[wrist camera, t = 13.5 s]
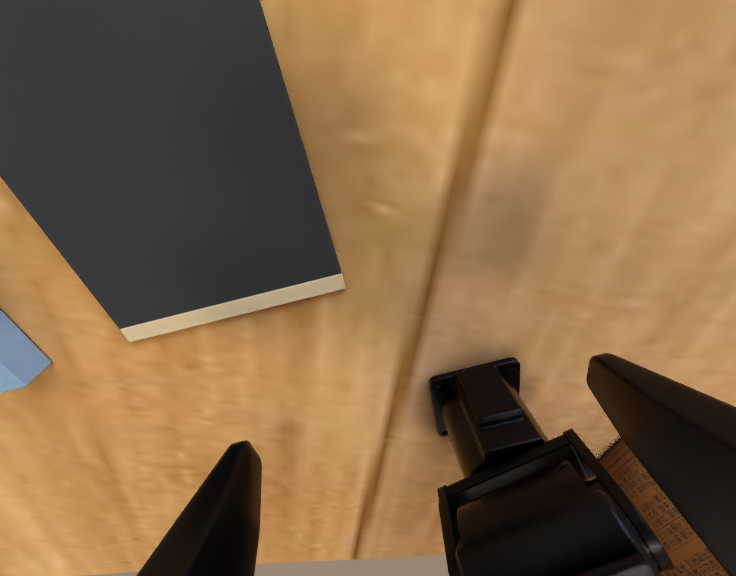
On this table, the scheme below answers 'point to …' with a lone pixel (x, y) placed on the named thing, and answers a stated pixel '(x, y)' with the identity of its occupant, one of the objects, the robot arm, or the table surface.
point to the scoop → (18, 357)
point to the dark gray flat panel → (162, 157)
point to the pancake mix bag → (660, 515)
